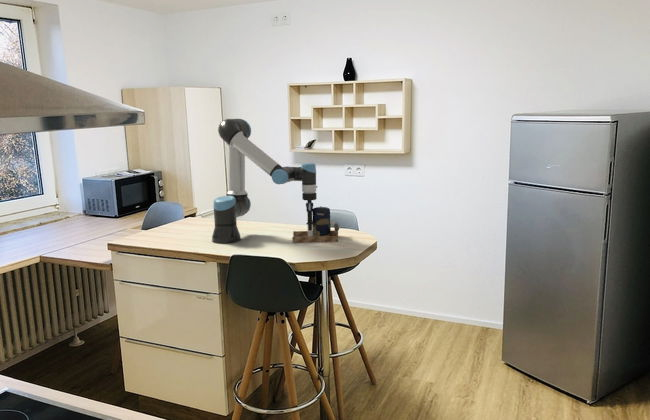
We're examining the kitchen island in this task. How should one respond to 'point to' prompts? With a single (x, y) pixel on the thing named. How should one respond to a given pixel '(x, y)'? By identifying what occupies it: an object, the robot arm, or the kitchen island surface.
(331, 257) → the kitchen island surface
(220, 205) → the robot arm
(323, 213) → the canister
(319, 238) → the bay
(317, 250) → the kitchen island surface
